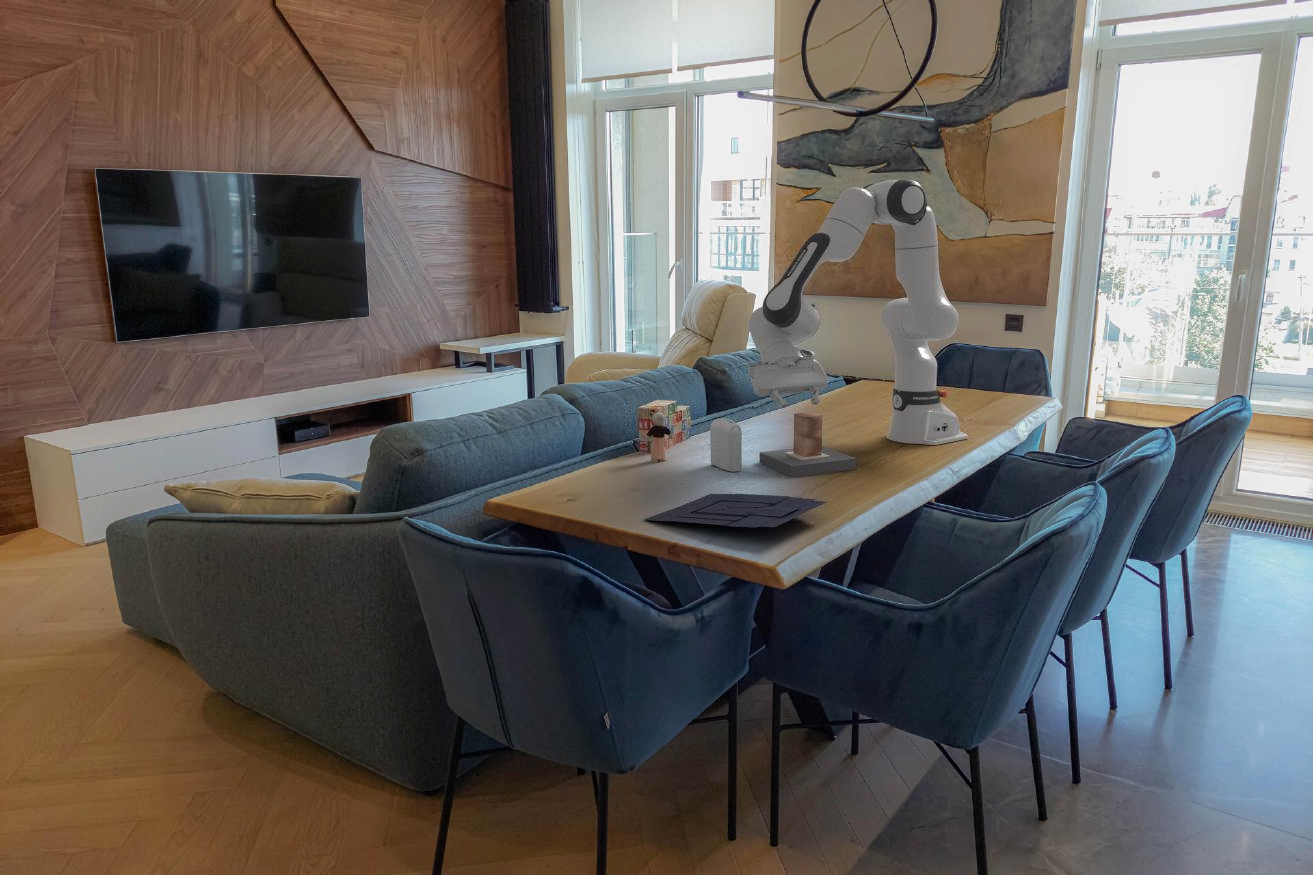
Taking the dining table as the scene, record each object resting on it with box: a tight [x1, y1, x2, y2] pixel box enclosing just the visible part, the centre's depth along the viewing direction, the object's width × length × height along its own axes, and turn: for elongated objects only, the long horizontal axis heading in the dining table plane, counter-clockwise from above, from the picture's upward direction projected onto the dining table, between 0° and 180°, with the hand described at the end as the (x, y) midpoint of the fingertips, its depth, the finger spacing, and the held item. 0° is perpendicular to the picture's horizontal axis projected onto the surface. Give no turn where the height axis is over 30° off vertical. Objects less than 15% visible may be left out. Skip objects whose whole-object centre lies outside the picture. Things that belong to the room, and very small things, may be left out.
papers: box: [643, 493, 828, 528], centre depth 178 cm, size 24×30×4 cm
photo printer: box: [709, 417, 743, 473], centre depth 219 cm, size 10×4×12 cm, turn 26°
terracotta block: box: [793, 411, 823, 457], centre depth 219 cm, size 5×5×10 cm
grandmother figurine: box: [644, 412, 673, 463], centre depth 227 cm, size 8×4×13 cm, turn 123°
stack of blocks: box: [637, 399, 692, 453], centre depth 247 cm, size 21×6×12 cm, turn 154°
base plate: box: [759, 445, 857, 478], centre depth 221 cm, size 18×16×3 cm
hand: (800, 405), depth 221 cm, fingers open, 8 cm apart
